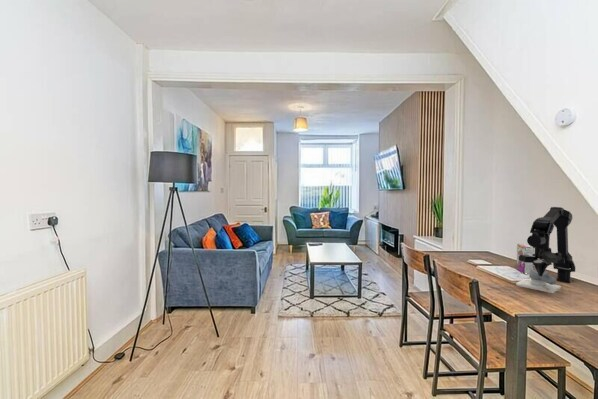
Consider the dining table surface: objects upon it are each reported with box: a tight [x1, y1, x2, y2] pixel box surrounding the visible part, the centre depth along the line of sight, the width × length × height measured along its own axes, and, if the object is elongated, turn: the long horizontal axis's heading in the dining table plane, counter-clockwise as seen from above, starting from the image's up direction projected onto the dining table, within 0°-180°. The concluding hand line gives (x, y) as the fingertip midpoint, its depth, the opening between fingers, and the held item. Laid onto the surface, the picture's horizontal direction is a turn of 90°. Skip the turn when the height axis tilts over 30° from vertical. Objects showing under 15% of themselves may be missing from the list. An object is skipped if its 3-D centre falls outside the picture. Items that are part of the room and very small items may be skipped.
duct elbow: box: [528, 268, 557, 285], centre depth 170 cm, size 15×8×4 cm, turn 173°
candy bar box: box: [515, 243, 535, 275], centre depth 202 cm, size 11×5×16 cm, turn 168°
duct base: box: [515, 278, 562, 294], centre depth 174 cm, size 13×16×4 cm
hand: (540, 276), depth 165 cm, fingers closed
